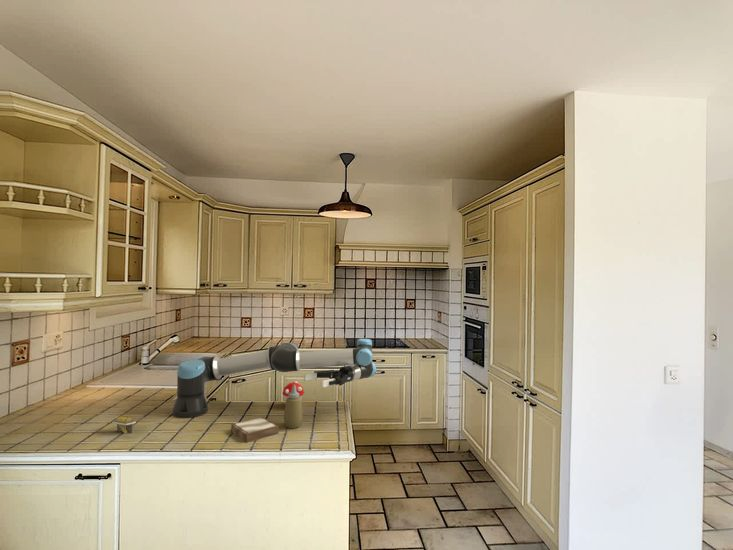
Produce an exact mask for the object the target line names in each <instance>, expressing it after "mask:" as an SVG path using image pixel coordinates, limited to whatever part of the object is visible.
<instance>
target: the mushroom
mask: <svg viewBox="0 0 733 550" xmlns="http://www.w3.org/2000/svg"><path fill="white" fill-rule="evenodd" d="M293 385H295V386H296V391H297V392H298V393H299V398H301V401H302V400H303V399H302V396H304V395H305V390H304V387H303V386H302V385H301V384H300V383H298V381H296V380H295V381H293V382H289V383H288V384H287V385H286V386H284V387H283V390H282V394H281V395H283V396H284V397H285V400H286V399H287V398H289V397H288V394H289V393H290V392H291V390H292V386H293Z"/></svg>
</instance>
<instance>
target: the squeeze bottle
mask: <svg viewBox="0 0 733 550" xmlns="http://www.w3.org/2000/svg"><path fill="white" fill-rule="evenodd" d="M288 397H289V398H287V399H286V398H285V406H284V415H283V421H284V424H285V427H286V428H287V429H297V427H298V428H299V427H300V426H301V423H302V421H303V407H302V400H301V399H302V397H301V398H299V393H298V392H297V391H296V386H295V385H293V386H292V390H291V392H290V393H289V394H288Z"/></svg>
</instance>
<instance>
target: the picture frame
mask: <svg viewBox="0 0 733 550" xmlns="http://www.w3.org/2000/svg"><path fill="white" fill-rule="evenodd" d="M230 429H231V430H230V431H231V433H233V434H234V435H236V436H237V437H238V438H239V439H241V440H243V441H244V442H246V443H249V442H254V441H257V440H261V439H264V438H268V437H270V436H275V435H278V434H279V425H277V424H275V423H274V422H272V421H270V420H268V419H267V418H265V417H263V416H260V417H256V418H251V419H247V420H244V421H240V422H239V421H238V422H236V423H231V428H230ZM267 436H268V437H267Z"/></svg>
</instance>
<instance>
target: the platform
mask: <svg viewBox="0 0 733 550" xmlns="http://www.w3.org/2000/svg"><path fill="white" fill-rule="evenodd" d="M136 422H137V421H136V420H132V419H131V417H129V416H124V415H119V417H118V416H116V417H115V418H114V419H113V421H112V423H113V424H116V431H119V432H123V433H124V434H128V433H129V434H132V433H133V425H134V424H136Z"/></svg>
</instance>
